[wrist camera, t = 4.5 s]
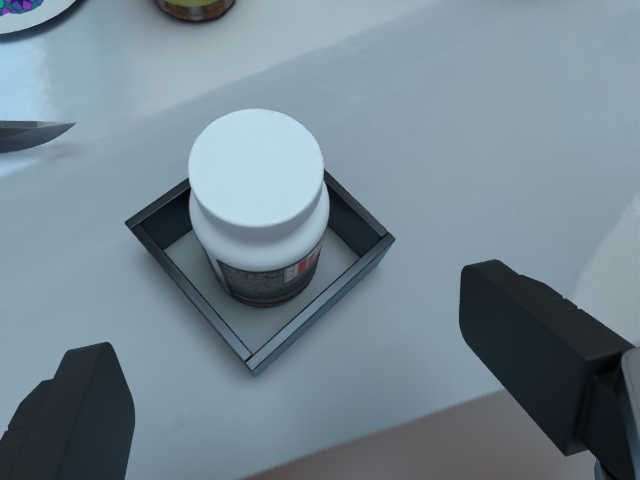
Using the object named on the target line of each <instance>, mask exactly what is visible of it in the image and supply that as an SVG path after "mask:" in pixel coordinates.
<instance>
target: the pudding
mask: <svg viewBox="0 0 640 480" xmlns="http://www.w3.org/2000/svg"><path fill="white" fill-rule="evenodd" d="M74 1H75V0H0V34H3V33H10V32H14V31H19V30H23V29H26V28H29V27H32V26H35V25H38V24H40V23H43V22H45V21H47V20H48V19H50V18H52V17H54V16H56V15H58V14H59V13H61V12H62V11H63V10H65V9H66V8H68V7H69V6H70V5H71V4H72V3H73V2H74Z"/></svg>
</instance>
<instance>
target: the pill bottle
mask: <svg viewBox="0 0 640 480" xmlns="http://www.w3.org/2000/svg"><path fill="white" fill-rule="evenodd" d="M323 177H324V163H323V157H322V153H321V150H320V148H319V145H318V143H317V142H316V140H315V138H314V137H313V135H312V134H311V133H310V132H309V131H308V130H307V129H306V128H305V127H304V126H303V125H302V124H300V123H299V122H298V121H296V120H294V119H293V118H291V117H289V116H287V115H285V114H282V113H279V112H275V111H271V110H266V109H246V110H240V111H236V112H232V113H229V114H227V115H224V116H222V117H220V118H218V119H217V120H215V121H214V122H212V123H211V124H210V125H208V127H206V128H205V129H204V130H203V131H202V133H201V134H200V135H199V136H198V138H197V139H196V141H195V142H194V145H193V147H192V149H191V152H190V156H189V161H188V178H189V182H190V186H191V193H190V200H189V211H190V218H191V222H192V226H193V229H194V232H195V235H196V237H197V238H198V240H199V243H200V245H201V246H202V249H203V251H204V253H205V255H206V257H207V259H208V261H209V263H210V265H211V267H212V270H213V272H214V274H215V276H216V278H217V280H218V281H219V283H220V284H221V285H222V287H223V288H224V289H225V290H226V291H227V292H228V293H229V294H230V295H232V296H233V297H234V298H236V299H238V300H240V301H242V302H244V303H246V304H250V305H254V306H274V305H279V304H282V303H285V302H287V301H289V300H291V299H293V298H294V297H296V296H297V295H298V294H300V293H301V292H302V291H303V290H304V289H305V288H306V287H307V285H308V284H309V282H310V281H311V279H312V277H313V275H314V273H315V271H316V267H317V263H318V259H319V255H320V251H321V247H322V243H323V239H324V235H325V232H326V228H327V224H328V219H329V207H330V205H329V195H328V191H327V187H326V184H325V182H324V180H323Z"/></svg>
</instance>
